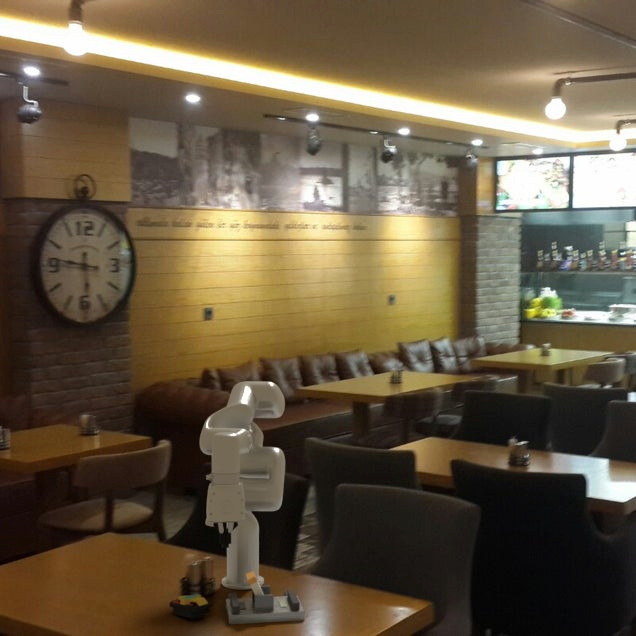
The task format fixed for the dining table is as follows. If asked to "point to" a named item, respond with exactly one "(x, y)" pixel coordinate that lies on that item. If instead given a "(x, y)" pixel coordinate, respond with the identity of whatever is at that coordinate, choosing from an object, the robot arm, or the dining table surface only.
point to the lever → (254, 583)
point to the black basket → (191, 606)
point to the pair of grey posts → (288, 593)
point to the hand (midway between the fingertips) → (225, 546)
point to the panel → (264, 609)
